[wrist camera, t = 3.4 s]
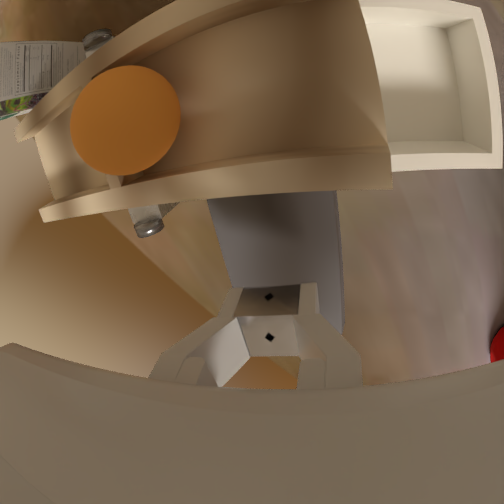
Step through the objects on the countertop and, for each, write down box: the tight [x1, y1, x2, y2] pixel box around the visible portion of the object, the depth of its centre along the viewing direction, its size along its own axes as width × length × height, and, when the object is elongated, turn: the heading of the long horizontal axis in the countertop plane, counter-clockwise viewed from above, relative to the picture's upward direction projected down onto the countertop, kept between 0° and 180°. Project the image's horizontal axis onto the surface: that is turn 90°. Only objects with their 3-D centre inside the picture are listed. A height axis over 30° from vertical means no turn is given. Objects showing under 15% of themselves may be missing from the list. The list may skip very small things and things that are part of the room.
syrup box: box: [0, 41, 87, 120], centre depth 13 cm, size 6×6×14 cm
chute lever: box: [14, 0, 393, 335], centre depth 14 cm, size 20×14×8 cm
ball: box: [70, 65, 181, 175], centre depth 9 cm, size 4×4×4 cm
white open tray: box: [358, 0, 503, 172], centre depth 14 cm, size 11×14×5 cm
